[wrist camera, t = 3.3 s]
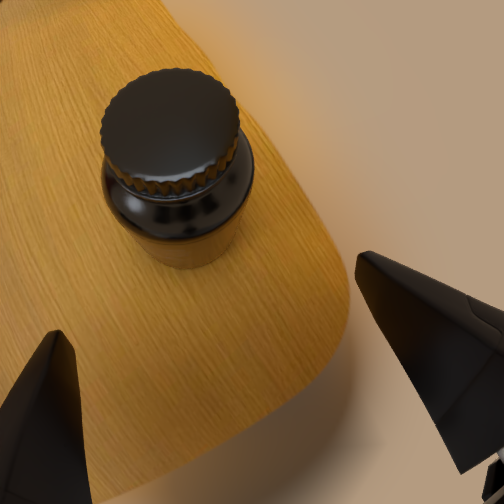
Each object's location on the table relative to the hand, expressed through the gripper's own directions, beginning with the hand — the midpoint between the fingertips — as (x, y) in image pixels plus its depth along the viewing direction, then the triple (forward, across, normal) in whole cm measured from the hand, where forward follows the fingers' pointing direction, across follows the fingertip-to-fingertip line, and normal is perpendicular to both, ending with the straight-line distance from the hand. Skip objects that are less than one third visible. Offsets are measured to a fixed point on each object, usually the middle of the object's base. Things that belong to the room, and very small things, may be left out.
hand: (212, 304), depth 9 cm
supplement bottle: (+13, 0, +4) cm, 14 cm away
